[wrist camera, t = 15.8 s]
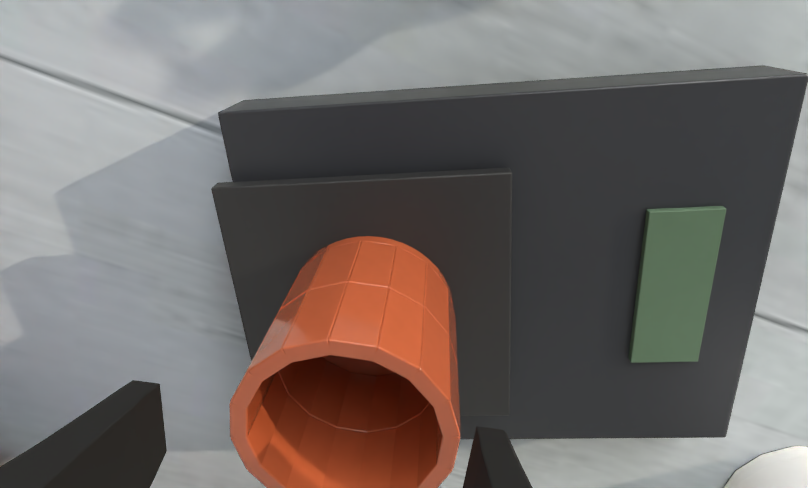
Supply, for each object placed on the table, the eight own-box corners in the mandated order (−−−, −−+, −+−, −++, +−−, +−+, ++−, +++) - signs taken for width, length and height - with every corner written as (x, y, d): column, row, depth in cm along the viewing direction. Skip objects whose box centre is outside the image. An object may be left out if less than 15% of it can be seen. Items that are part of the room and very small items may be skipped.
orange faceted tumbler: (288, 363, 20) (230, 501, 14) (294, 223, 17) (227, 325, 12) (439, 385, 20) (439, 532, 14) (466, 248, 17) (478, 361, 12)
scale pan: (268, 408, 21) (264, 418, 21) (217, 182, 18) (209, 187, 17) (507, 405, 21) (509, 416, 20) (510, 166, 17) (512, 172, 16)
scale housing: (300, 402, 25) (285, 446, 22) (242, 100, 19) (212, 113, 17) (699, 397, 23) (730, 443, 21) (765, 65, 18) (817, 74, 15)
